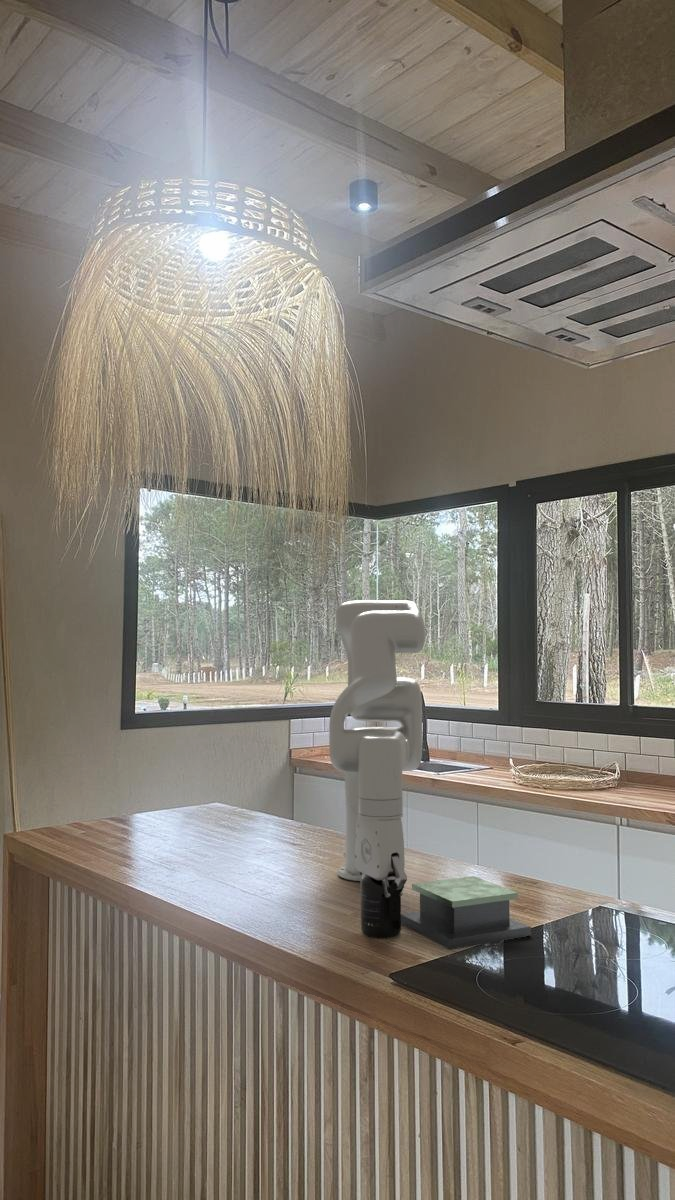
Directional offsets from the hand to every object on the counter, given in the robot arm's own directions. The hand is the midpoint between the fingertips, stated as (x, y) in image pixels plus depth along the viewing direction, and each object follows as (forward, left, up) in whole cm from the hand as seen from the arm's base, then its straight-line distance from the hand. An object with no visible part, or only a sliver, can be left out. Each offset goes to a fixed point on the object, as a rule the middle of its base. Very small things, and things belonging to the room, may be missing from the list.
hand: (380, 913), depth 153 cm
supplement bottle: (0, 0, -4) cm, 4 cm away
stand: (+4, +14, -3) cm, 15 cm away
